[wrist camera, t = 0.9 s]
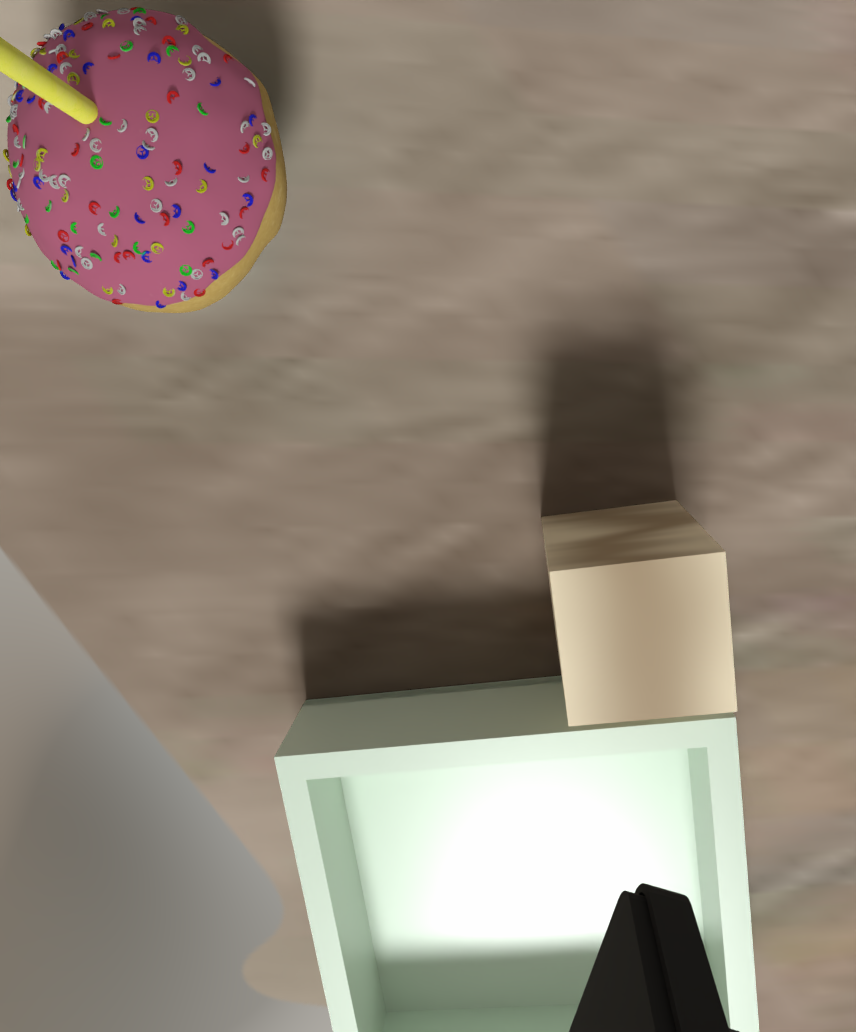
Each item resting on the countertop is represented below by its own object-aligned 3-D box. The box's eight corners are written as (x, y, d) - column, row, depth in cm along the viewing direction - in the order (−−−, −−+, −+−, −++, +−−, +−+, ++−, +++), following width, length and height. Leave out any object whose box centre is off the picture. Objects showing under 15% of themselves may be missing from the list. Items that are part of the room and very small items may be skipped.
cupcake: (45, 152, 29) (-274, 32, 17) (231, 6, 27) (17, -238, 15) (179, 357, 30) (-33, 377, 18) (365, 231, 28) (261, 164, 16)
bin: (703, 661, 30) (735, 717, 26) (732, 1006, 34) (765, 1106, 29) (305, 699, 33) (274, 757, 28) (370, 1020, 36) (350, 1115, 32)
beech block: (675, 500, 29) (725, 551, 22) (686, 626, 30) (737, 711, 23) (540, 516, 30) (549, 571, 23) (556, 639, 31) (568, 726, 24)
